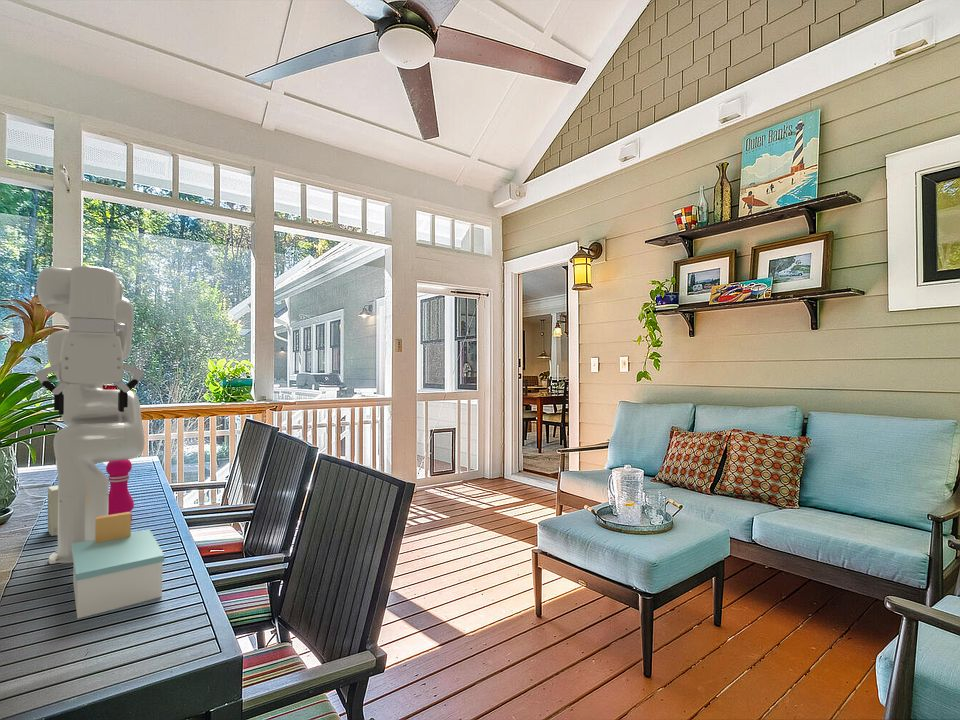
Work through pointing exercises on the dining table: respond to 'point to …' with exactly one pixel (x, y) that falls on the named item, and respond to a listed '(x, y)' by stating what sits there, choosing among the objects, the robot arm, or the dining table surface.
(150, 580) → the tub
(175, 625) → the dining table surface
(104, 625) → the dining table surface
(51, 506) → the skincare box
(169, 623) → the dining table surface
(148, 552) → the lid
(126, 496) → the pepper mill
